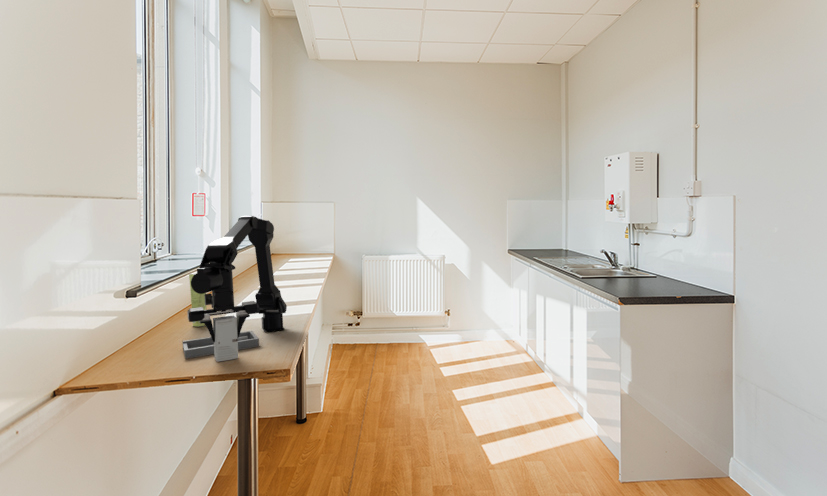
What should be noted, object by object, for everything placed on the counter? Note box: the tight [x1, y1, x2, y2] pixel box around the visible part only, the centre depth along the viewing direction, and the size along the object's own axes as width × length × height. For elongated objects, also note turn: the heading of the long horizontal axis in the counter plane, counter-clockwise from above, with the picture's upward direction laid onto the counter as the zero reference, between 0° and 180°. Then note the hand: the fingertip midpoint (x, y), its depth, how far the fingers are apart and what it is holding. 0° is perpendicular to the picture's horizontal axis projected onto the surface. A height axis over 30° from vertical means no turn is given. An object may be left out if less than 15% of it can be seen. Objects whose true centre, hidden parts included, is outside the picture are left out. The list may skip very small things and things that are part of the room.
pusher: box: [238, 336, 248, 341], centre depth 144 cm, size 8×8×3 cm
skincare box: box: [212, 315, 239, 363], centre depth 131 cm, size 6×4×12 cm
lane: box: [182, 330, 260, 359], centre depth 142 cm, size 21×11×2 cm, turn 120°
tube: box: [188, 273, 207, 328], centre depth 169 cm, size 6×5×20 cm
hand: (225, 339), depth 131 cm, fingers closed on skincare box, 6 cm apart
